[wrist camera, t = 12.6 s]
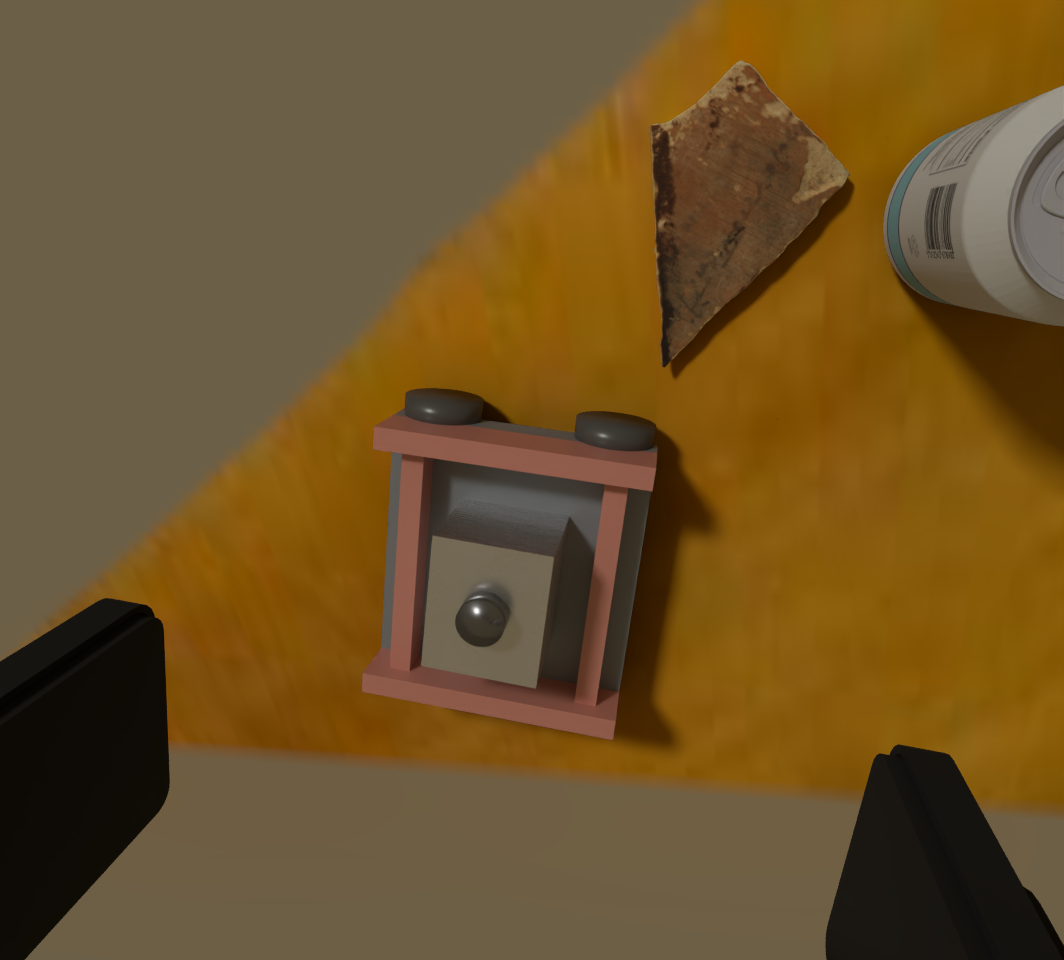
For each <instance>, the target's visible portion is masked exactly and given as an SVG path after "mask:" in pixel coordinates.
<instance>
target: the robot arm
mask: <svg viewBox="0 0 1064 960" xmlns="http://www.w3.org/2000/svg"><path fill="white" fill-rule="evenodd" d="M169 783H170V779H169V751H168V726H167V701H166V675H165V650H164V629H163V624H162V622H161V620H159V619H158V618H155V616H154V613H153V611H152V609H151V608H150V607H148V606H147V605H143V604H138V603H132V602H127V601H121V600H116V599H109V598H105V599H102V600H100V601H98V602H96V603H94V604H93V605H91V606H89V607H88V608H86V609H85V610H83V611H81V612H80V613H78V614H77V615H75V616H73V617H72V618H70V619H68V620H67V621H65V622H64V623H62V624H60V625H59V626H57V627H55V628H54V629H52V630H51V631H49V632H47V633H46V634H44V635H42V636H41V637H39V638H38V639H36V640H34V641H33V642H31V643H30V644H28V645H26V646H25V647H23V648H21V649H20V650H18V651H17V652H15V653H13V654H12V655H10V656H8V657H7V658H5V659H4V660H2V661H0V960H25V959H26V958H27V956H28V955H29V954H30V953H31V952H32V951H33V950H34V949H35V948H36V947H37V945H38V944H39V943H40V942H41V941H42V940H43V939H44V938H45V937H46V935H47V934H48V933H49V932H50V931H51V930H52V929H53V928H54V927H55V925H56V924H57V923H58V922H59V921H60V920H61V919H62V918H63V917H64V916H65V915H66V914H67V912H68V911H69V910H70V909H71V908H72V907H73V906H74V905H75V904H76V902H77V901H78V900H79V899H80V898H81V897H82V896H83V895H84V894H85V893H86V891H87V890H88V889H89V888H90V887H91V886H92V885H93V884H94V883H95V882H96V880H97V879H98V878H99V877H100V876H101V875H102V874H103V873H104V872H105V871H106V869H107V868H108V867H109V866H110V865H111V864H112V863H113V862H114V860H116V858H117V857H118V856H119V855H120V854H121V853H122V852H123V851H124V850H125V848H126V847H127V846H128V845H129V844H130V843H131V842H132V841H133V840H134V839H135V837H136V836H137V835H138V834H139V833H140V832H141V831H142V830H143V829H144V828H145V827H146V825H147V824H148V823H149V822H150V821H151V820H152V819H153V818H154V817H155V816H156V814H157V813H158V812H159V810H160V809H161V808H162V806H163V804H164V802H165V800H166V797H167V794H168V791H169ZM826 958H827V960H1064V945H1063V943H1062V942H1061V940H1060V938H1059V936H1058V934H1057V933H1056V931H1055V929H1054V927H1053V926H1052V924H1051V922H1050V920H1049V918H1048V917H1047V915H1046V913H1045V911H1044V910H1043V908H1042V906H1041V904H1040V903H1039V901H1038V900H1037V899H1036V897H1035V896H1034V895H1033V893H1032V892H1030V891H1029V890H1028V889H1026V888H1025V887H1023V886H1022V884H1021V882H1020V881H1019V879H1018V877H1017V875H1016V873H1015V871H1014V869H1013V868H1012V866H1011V864H1010V862H1009V860H1008V858H1007V857H1006V855H1005V853H1004V851H1003V850H1002V848H1001V846H1000V844H999V842H998V840H997V838H996V837H995V835H994V833H993V831H992V829H991V828H990V826H989V824H988V822H987V820H986V819H985V817H984V815H983V813H982V811H981V809H980V807H979V806H978V804H977V802H976V800H975V798H974V796H973V795H972V793H971V791H970V789H969V787H968V786H967V784H966V782H965V780H964V778H963V776H962V775H961V773H960V771H959V769H958V767H957V766H956V764H955V762H954V760H953V759H952V758H951V756H950V755H948V754H946V753H942V752H936V751H931V750H925V749H920V748H915V747H909V746H904V745H896V746H894V748H893V749H892V751H891V753H890V755H885V754H878V755H877V756H876V757H875V758H874V761H873V764H872V767H871V771H870V774H869V778H868V781H867V785H866V789H865V792H864V796H863V799H862V803H861V807H860V810H859V814H858V817H857V821H856V825H855V828H854V832H853V835H852V839H851V843H850V846H849V850H848V853H847V857H846V860H845V864H844V868H843V872H842V875H841V878H840V882H839V886H838V890H837V893H836V896H835V900H834V904H833V907H832V911H831V914H830V919H829V922H828V926H827V932H826Z"/></svg>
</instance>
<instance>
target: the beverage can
mask: <svg viewBox="0 0 1064 960" xmlns="http://www.w3.org/2000/svg"><path fill="white" fill-rule="evenodd" d="M883 231H884V242H885V247H886V251H887V254H888V257H889V259H890V261H891V264H892V265H893V267H894V269H895V271H896V272H897V273H898V275H899V276H900V277H901V279H902V280H903V281H904V282H905V283H906V284H907V285H908V286H909V287H911V288H912V289H913V290H914V291H916V292H918V293H919V294H921V295H923V296H925V297H927V298H929V299H931V300H934V301H937V302H940V303H945V304H950V305H954V306H959V307H964V308H969V309H974V310H978V311H983V312H988V313H993V314H998V315H1003V316H1007V317H1012V318H1017V319H1022V320H1027V321H1032V322H1036V323H1041V324H1046V325H1053V326H1064V86H1061V87H1059V88H1056V89H1054V90H1051V91H1049V92H1047V93H1044V94H1042V95H1039V96H1037V97H1034V98H1032V99H1030V100H1027V101H1025V102H1022V103H1020V104H1017V105H1015V106H1013V107H1010V108H1008V109H1005V110H1003V111H1000V112H998V113H996V114H993V115H991V116H988V117H986V118H984V119H981V120H979V121H976V122H974V123H971V124H969V125H967V126H964V127H962V128H959V129H957V130H954V131H952V132H950V133H947V134H945V135H943V136H942V137H940V138H938V139H936V140H935V141H933V142H932V143H930V144H929V145H927V146H926V147H925V148H924V149H922V150H921V151H920V152H919V153H918V154H917V155H916V156H915V157H914V158H913V159H912V160H911V161H910V162H909V163H908V165H907V166H906V167H905V168H904V170H903V171H902V172H901V174H900V176H899V177H898V179H897V180H896V182H895V184H894V186H893V188H892V191H891V193H890V195H889V198H888V201H887V205H886V209H885V214H884V224H883Z"/></svg>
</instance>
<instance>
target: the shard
mask: <svg viewBox="0 0 1064 960" xmlns="http://www.w3.org/2000/svg"><path fill="white" fill-rule="evenodd" d="M649 138H650V142H651V153H652V181H653V186H652V189H653V198H654V213H655V249H654V251H655V255H656V277H657V290H658V295H659V304H660V309H661V318H662V337H661V341H660V347H661V361H662V366H663V367H666V366H667V365H668V363H669V362H670V361H671V360H673V359H674V358H675V357H676V356H677V355H678V353H679V352H680V351H681V350H682V349H683V348H684V347H686V346H687V345H688V344H689V343H690V342H691V341H692V340H693V339H694V338H695V336H696V335H697V334H698V333H699V331H700V330H701V329H702V328H703V326H704V325H705V324H706V323H707V322H708V321H709V320H711V319H712V317H713V316H714V315H715V314H716V313H717V312H718V311H719V310H720V309H721V308H722V307H724V306H725V305H726V304H727V303H728V302H729V301H730V300H731V299H732V298H734V297H736V296H737V295H738V294H739V293H741V292H742V291H743V290H744V289H746V288H747V286H748V285H749V284H750V283H752V282H753V281H754V280H755V278H756V277H757V276H758V275H759V274H760V273H761V272H762V271H763V270H764V269H765V268H767V267H768V266H769V265H770V264H772V263H773V262H774V261H775V260H776V259H777V258H778V257H779V256H780V254H782V253H783V252H784V251H785V249H786V247H787V246H788V245H789V244H790V243H791V242H792V241H794V240H795V239H796V238H798V237H799V235H800V234H801V232H802V231H803V230H804V229H805V228H806V227H807V226H808V225H809V224H810V223H811V222H812V221H813V220H814V219H815V218H816V217H817V215H818V213H819V211H820V209H821V206H822V205H823V204H824V203H825V202H826V201H827V200H828V199H829V198H830V197H832V196H833V195H834V194H835V193H836V192H837V191H838V190H839V189H841V188H842V187H843V185H844V183H845V181H846V179H847V178H848V177H849V175H850V174H849V172H848V171H847V170H846V169H845V168H844V166H843V165H842V164H841V162H840V161H838V160H837V159H836V158H835V156H834V155H833V154H832V153H831V152H830V151H829V149H828V148H827V146H826V144H825V143H824V142H823V141H822V140H821V139H820V138H819V137H818V136H817V135H816V134H815V133H814V132H813V131H812V130H811V129H810V128H809V127H808V126H807V125H806V124H805V123H804V122H803V121H802V120H800V119H799V118H797V117H796V116H795V115H794V114H793V113H792V111H791V110H790V109H789V108H788V107H787V106H786V105H785V104H784V103H783V102H782V101H781V100H780V99H779V98H778V97H777V96H776V95H775V94H774V93H773V92H772V91H771V90H770V89H769V88H768V86H767V85H766V83H765V81H764V79H763V78H762V76H761V75H760V74H759V73H758V71H757V70H756V69H755V68H754V67H753V66H752V65H751V64H748V63H745V62H743V61H739V62H737V63H736V64H735V65H733V66H732V68H731V69H730V70H729V71H727V72H726V73H725V75H724V76H723V77H722V78H721V80H720V81H719V82H718V83H717V84H715V85H714V86H713V87H712V89H710V90H709V91H708V92H707V93H706V94H705V95H704V96H703V97H702V98H701V99H700V100H699V101H698V102H697V103H696V104H695V105H693V106H692V107H690V108H689V109H687V110H686V111H684V112H683V113H681V114H680V115H678V116H677V117H675V118H673V119H672V120H671V121H669V122H666V123H663V124H654V125H651V126H650V128H649Z"/></svg>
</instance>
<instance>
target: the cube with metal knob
mask: <svg viewBox="0 0 1064 960" xmlns="http://www.w3.org/2000/svg"><path fill="white" fill-rule="evenodd" d="M569 517H570V516H565V515H559V514H553V513H547V512H541V511H535V510H530V509H524V508H518V507H512V506H506V505H500V504H494V503H488V502H483V501H477V500H471V499H465V498H463V499H462V500H461V502H460V503H459V504H458V505H457V506H456V508H455V509H454V510H453V511H452V512H451V514H450V515H449V516H448V517H447V519H446V520H445V521H444V522H443V523H442V525H441V526H440V527H439V528H438V529H437V531H436V532H435V533H434V534H433V535H432V545H431V557H430V568H429V580H428V592H427V603H426V615H425V626H424V638H423V649H422V661H421V666H425V667H430V668H435V669H440V670H445V671H450V672H455V673H460V674H465V675H470V676H475V677H480V678H485V679H490V680H495V681H500V682H505V683H510V684H515V685H520V686H525V687H530V688H535V689H536V687H537V684H538V680H539V677H540V674H541V671H542V667H543V664H544V661H545V658H546V654H547V651H548V648H549V645H550V641H551V638H552V635H553V630H554V623H555V616H556V609H557V602H558V595H559V588H560V581H561V574H562V566H563V559H564V552H565V545H566V538H567V531H568V524H569Z"/></svg>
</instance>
